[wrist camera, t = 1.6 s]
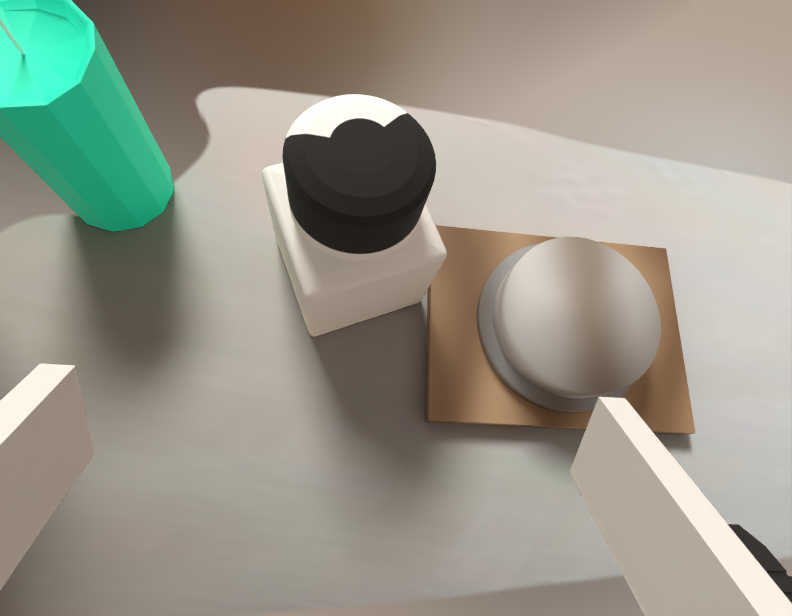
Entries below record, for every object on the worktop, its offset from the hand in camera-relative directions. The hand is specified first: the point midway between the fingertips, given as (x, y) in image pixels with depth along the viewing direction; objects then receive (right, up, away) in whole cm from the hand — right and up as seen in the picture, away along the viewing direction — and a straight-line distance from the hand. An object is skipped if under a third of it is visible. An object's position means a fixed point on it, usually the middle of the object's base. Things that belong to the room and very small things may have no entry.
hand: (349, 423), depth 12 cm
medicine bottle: (-2, +5, +17) cm, 18 cm away
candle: (-15, +10, +17) cm, 25 cm away
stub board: (+11, +2, +17) cm, 21 cm away
